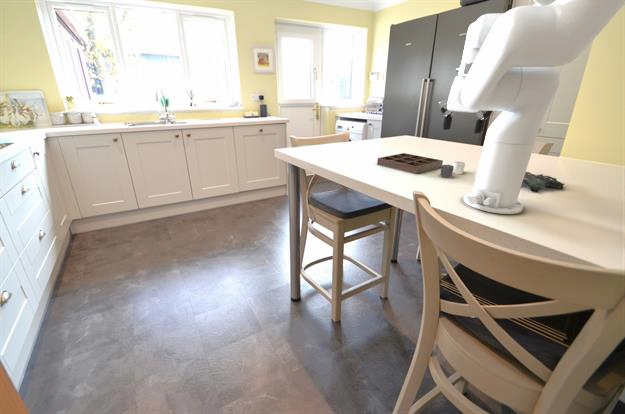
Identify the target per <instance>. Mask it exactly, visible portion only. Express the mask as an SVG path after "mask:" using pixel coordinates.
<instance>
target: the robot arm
mask: <svg viewBox="0 0 625 414" xmlns="http://www.w3.org/2000/svg"><path fill="white" fill-rule="evenodd" d="M532 1H533V2H534V4H533V5H521V6H520V5H519V6H515V7H513V8H511V9H509V10H507V11H506V12H500V13H499V12H497V13H496V12H495V13H494V12H493V13H485V14H482V15H480V17H478V18H477V20H475V21H473V22H472V23H470V24H469V26H468V29H467V33H466V38H465V43H464V49H463V53H462V59H461V62H460V63H461V64H460V66H459V67H456V68H455V72H456V73H458V75H457V76H455V77H454V80H453V83H452V85H451V88H450V92H449V95H448V97H446V98H445V99H442V100H441V101H439V102H438V104H439V108H440V112H441V114H443V115H442V116H443V117H444V119H443V125H442V128H443V129H442V130H443V131H447V130H450V129H451V127H452V122H453V116H452V115H453V114H454V113H457V112H458V113H475V114H476V116H477V117H478V119H476V121H475V125H474V130H473V134H481V133H482V131H483V130H484V126H485V124H486V123H485V122H486V120H487V119H488V118H490V116H492V115H493V114H494V113H495V111H497V112H501V113H500V114H499V115H498V116H497V117H496V118H494V119H495V120H494V121H493V122H491V124H490V125H489V127H488V128H487V131H486V134H485V137H484V138H485V139H484V142H483V146H482V152H481V155H480V159H479V163H478V167H477V171H476V174H475V181H474V183H473V188H472V191H471V192H467V193H465V195H464V196H463V201H464V203H465V204H466V205H468V206H470V207H471V208H474V209H477V210H481V211H484V212H488V213H491V214H492V213H493V214H500V215H515V214H519V213H521V212H523V209H524V205H523V203H521V202H520V201H519V200H518V199H519V195H520V192H521V189H522V185H523V183H524V182H523V179H524V176H525V173H526V172H527V169H528V167H529V162H530V160H531V156H532V153H533V150H534V148H535V147H534V146H535V144H536V140H537V137H538V135H539V131H540V128H541V125H542V123H543V120H544V118H545V115H546V113H547V111H548V109H549V107H550V105H551V104H552V101H553V100H554V98H555V96H556V94H557V92H558V89H559V87H560V83H561V82H560V81H561V77H560V73H559V71H558V70H557V69H556V68H557V67H562V66H565V65H569V64H570V63H572V62H573V61H575V60H576V59H577V58H578V57H580V55H581V54H582V53H583V52H584V51H585V50H586V49H587V48H588V46H590V44H591V43H592V42H593V41H594V40H595V39H596V38H597V36H598V35H599V34H600V33H601V32H602V31H603V29H604V28H605V27H606V26H607V25H608V24H609V23H610V22H611V21H612V20H613V18H614V17H615V16H616V15H617V14H618V13H619V12H620V10H621V9H622V8H623V7H624V6H625V0H532Z"/></svg>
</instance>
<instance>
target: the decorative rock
mask: <svg viewBox="0 0 625 414" xmlns="http://www.w3.org/2000/svg"><path fill="white" fill-rule="evenodd" d="M522 183H525V184H527V186H528V188H529V189H530V191H531V192H532V193H539V192H540V191H541V190H542V189H543V188H549V186H557V187H559V189H560V190H563V189H564V185H565V183H563V182H561V181H558V179H557V178H555V177H552V176H550V175H543V174H542V173H541V174H534V173H532V172H529V171H526V173H525V176H524V179H523V182H522Z"/></svg>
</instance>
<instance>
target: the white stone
mask: <svg viewBox="0 0 625 414" xmlns="http://www.w3.org/2000/svg"><path fill="white" fill-rule="evenodd" d="M452 166H454V169H453V174H454V175H455V174H456V175H463V174H464V172H465V171H464V170H465V168H466V167H465V166H466V162H464V161H453V164H452Z"/></svg>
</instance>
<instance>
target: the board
mask: <svg viewBox="0 0 625 414" xmlns="http://www.w3.org/2000/svg"><path fill="white" fill-rule="evenodd" d="M443 163H444V160H443V159H437V158H433V157H426V156H422V155H416V154H412V153H407V152H402V153H397V154H392V155H387V156H386V155H385V156H381V157H377V161H376V165H377V166H380V167H381V166H382V167H386V168H390V169H393V170H397V171H402V172H407V173H410V174H415V175H419V174H422V173H425V172H429V171H433V170H436V169H439V168H440V169H441V168H442V165H443Z"/></svg>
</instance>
